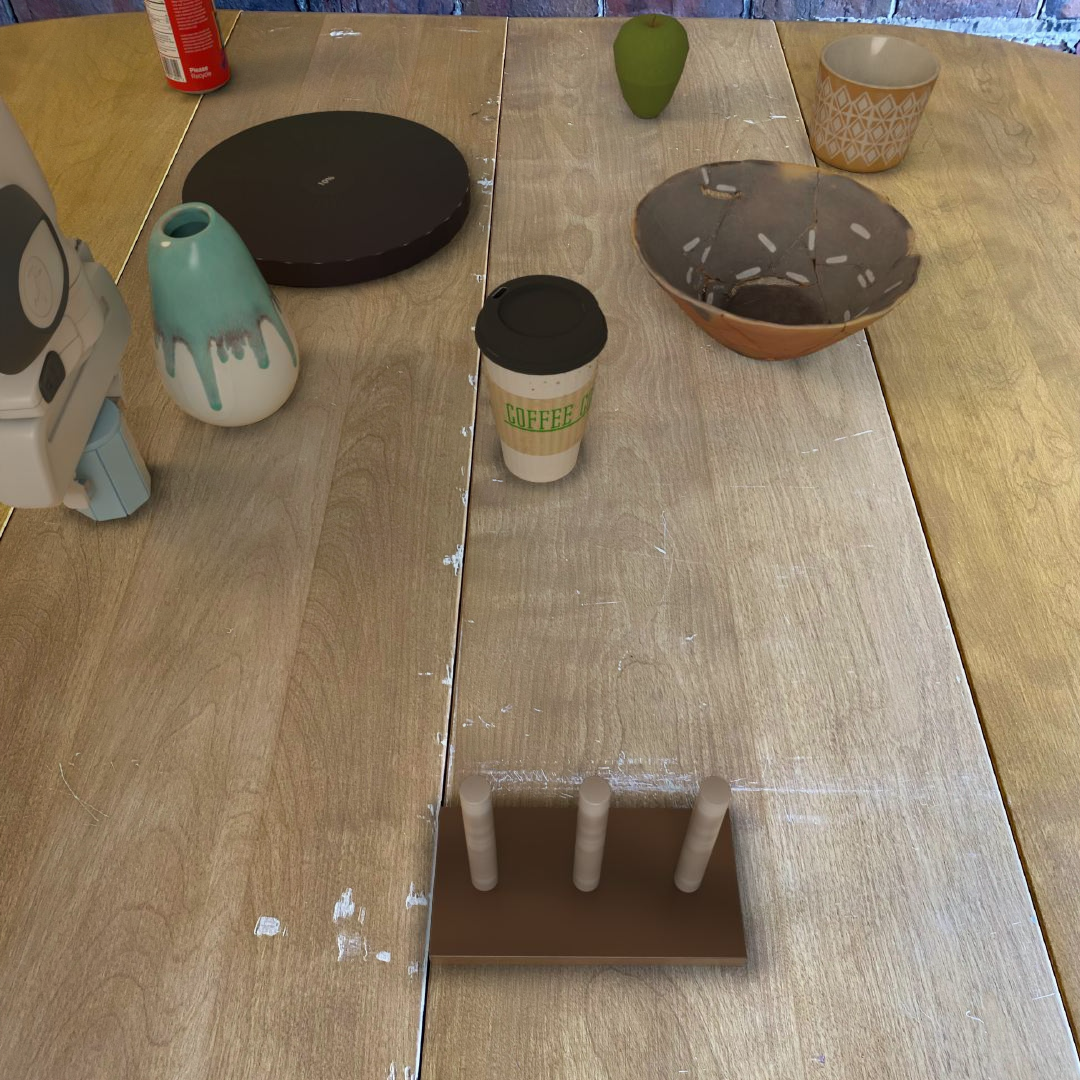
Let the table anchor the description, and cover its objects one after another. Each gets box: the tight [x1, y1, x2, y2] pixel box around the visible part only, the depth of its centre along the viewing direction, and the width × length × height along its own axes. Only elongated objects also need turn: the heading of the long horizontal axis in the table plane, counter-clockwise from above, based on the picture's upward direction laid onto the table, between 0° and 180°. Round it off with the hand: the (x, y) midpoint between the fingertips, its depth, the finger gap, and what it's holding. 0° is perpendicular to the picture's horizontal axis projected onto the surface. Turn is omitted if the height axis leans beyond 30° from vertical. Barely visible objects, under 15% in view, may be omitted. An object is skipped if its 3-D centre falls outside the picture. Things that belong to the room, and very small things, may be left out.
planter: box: [809, 33, 942, 174], centre depth 110 cm, size 13×13×10 cm
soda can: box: [142, 0, 232, 95], centre depth 118 cm, size 8×8×15 cm
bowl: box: [630, 158, 923, 362], centre depth 90 cm, size 25×25×10 cm
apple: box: [612, 13, 690, 119], centre depth 115 cm, size 9×8×12 cm
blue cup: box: [74, 398, 152, 522], centre depth 77 cm, size 6×6×8 cm
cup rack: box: [428, 774, 748, 967], centre depth 55 cm, size 9×18×14 cm, turn 90°
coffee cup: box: [474, 274, 609, 484], centre depth 77 cm, size 10×10×15 cm
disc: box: [180, 110, 471, 288], centre depth 106 cm, size 30×30×3 cm
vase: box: [146, 202, 300, 428], centre depth 80 cm, size 12×12×18 cm
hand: (99, 456), depth 77 cm, fingers open, 8 cm apart
